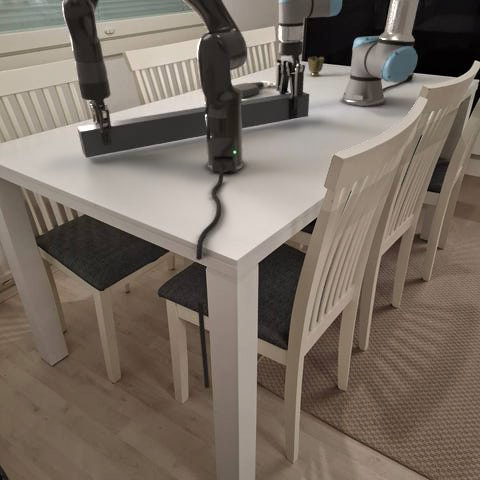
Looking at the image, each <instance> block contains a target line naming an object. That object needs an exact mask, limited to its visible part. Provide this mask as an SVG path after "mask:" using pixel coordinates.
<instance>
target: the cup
mask: <svg viewBox="0 0 480 480" xmlns="http://www.w3.org/2000/svg"><path fill="white" fill-rule="evenodd" d="M324 61H325V57H324V56H319V57H318V56H309V57H307V67H308V70H309V72H310V76H312V77H318V76H319V75H320V72H321V71H322V69H323V66H324Z"/></svg>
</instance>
